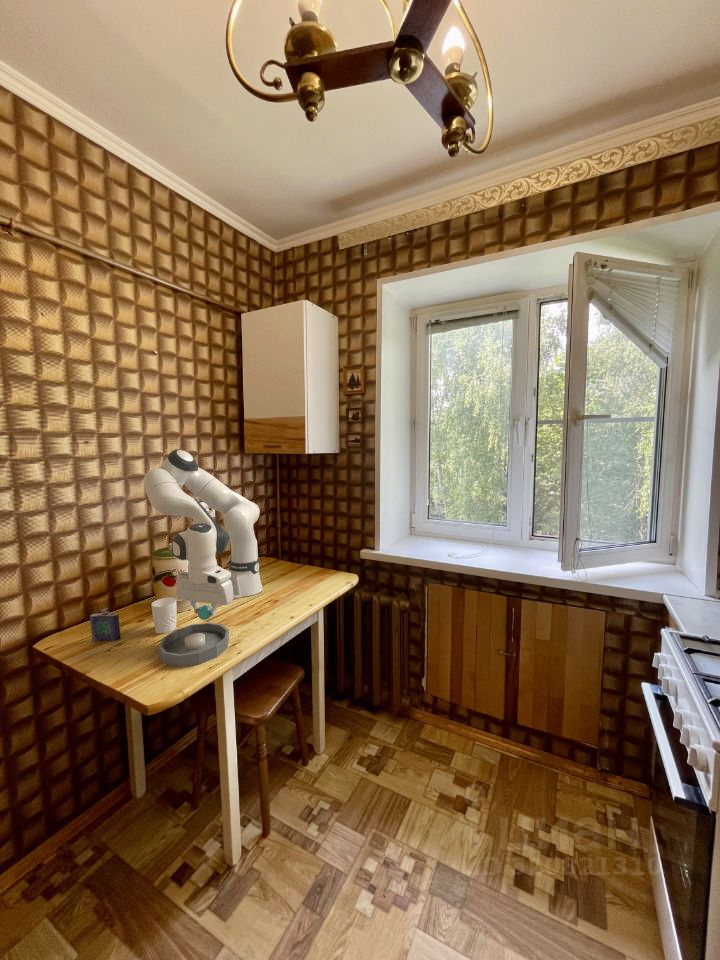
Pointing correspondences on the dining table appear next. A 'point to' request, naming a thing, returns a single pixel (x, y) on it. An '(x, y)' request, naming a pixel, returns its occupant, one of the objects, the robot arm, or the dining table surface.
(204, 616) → the bead
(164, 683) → the dining table surface
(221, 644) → the ring tray
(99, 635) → the flask
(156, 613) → the white cup
